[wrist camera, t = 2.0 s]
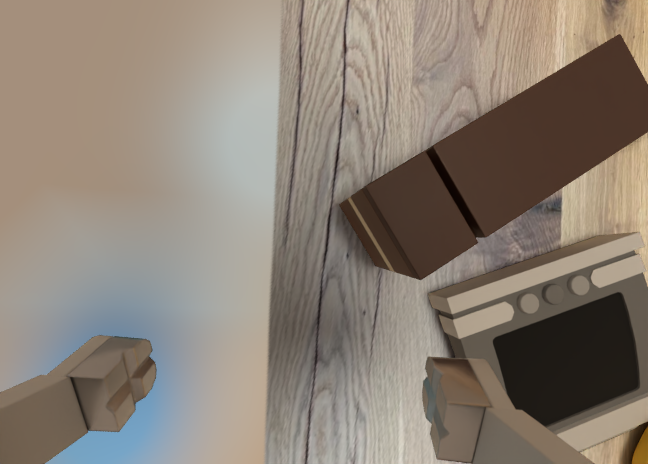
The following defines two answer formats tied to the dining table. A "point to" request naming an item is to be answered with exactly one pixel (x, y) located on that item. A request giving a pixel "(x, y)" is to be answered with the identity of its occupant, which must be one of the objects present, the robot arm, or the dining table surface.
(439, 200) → the cake slice
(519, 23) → the dining table surface
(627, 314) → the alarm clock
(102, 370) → the robot arm
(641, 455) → the teapot
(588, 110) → the cake loaf
